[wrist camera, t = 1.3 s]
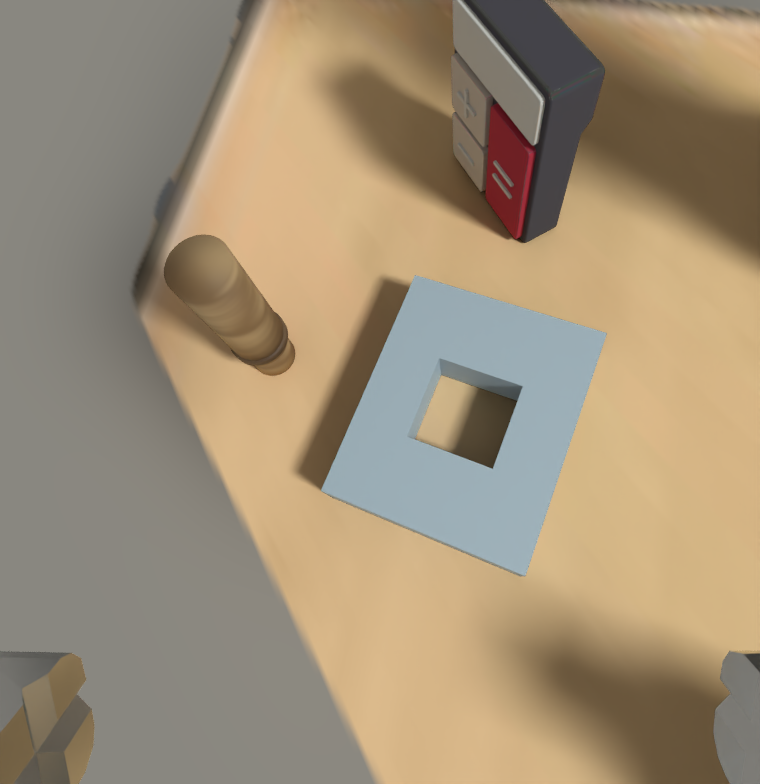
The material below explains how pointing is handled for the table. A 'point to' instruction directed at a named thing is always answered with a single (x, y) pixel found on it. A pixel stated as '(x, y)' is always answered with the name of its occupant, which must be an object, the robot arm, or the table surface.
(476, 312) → the seat board
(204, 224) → the table surface
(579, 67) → the calculator
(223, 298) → the peg
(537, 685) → the table surface
